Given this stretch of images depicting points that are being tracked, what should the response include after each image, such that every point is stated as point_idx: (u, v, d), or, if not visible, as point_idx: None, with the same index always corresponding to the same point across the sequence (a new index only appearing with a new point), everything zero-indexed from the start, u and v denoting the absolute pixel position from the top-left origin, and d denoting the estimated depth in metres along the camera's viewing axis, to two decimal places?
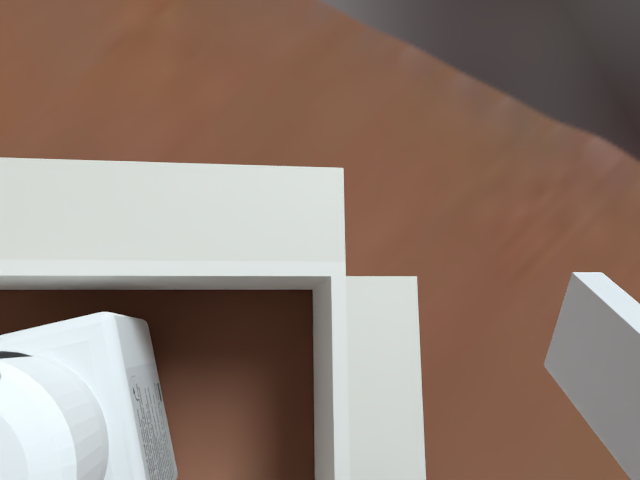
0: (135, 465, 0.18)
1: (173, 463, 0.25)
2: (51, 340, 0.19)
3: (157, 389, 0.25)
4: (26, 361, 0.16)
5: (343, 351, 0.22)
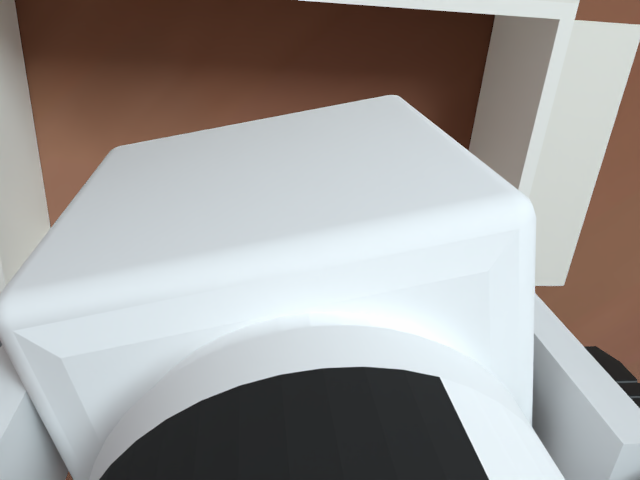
0: None
1: None
2: (402, 268, 0.07)
3: None
4: None
5: (551, 98, 0.23)
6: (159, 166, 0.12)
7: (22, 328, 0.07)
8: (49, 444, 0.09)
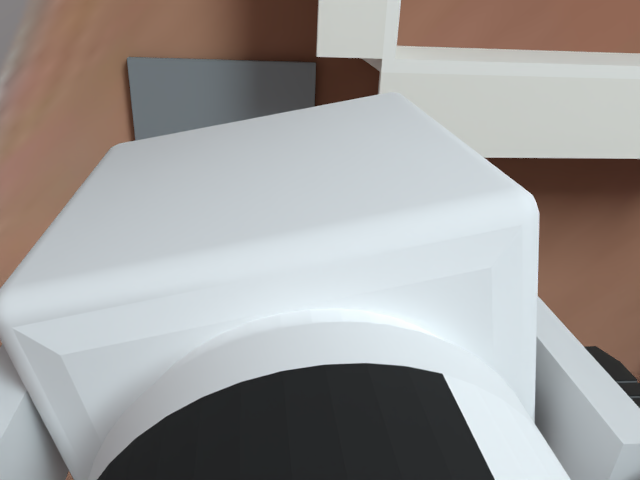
0: None
1: None
2: (405, 264, 0.07)
3: None
4: (516, 477, 0.05)
5: None
6: (159, 162, 0.11)
7: (21, 325, 0.07)
8: (49, 444, 0.09)
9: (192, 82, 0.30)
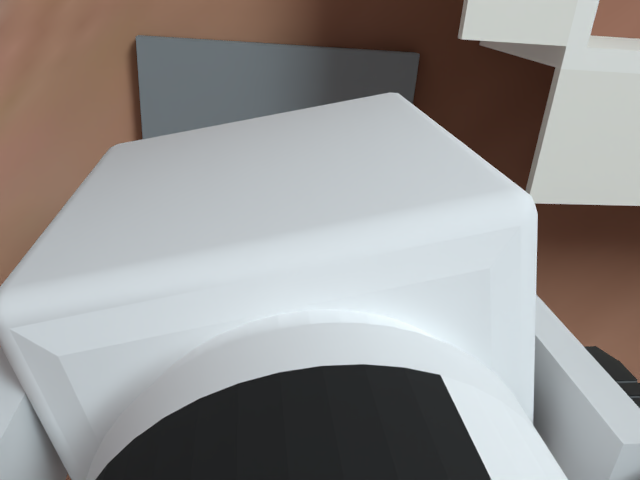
0: None
1: None
2: (403, 265, 0.07)
3: None
4: (513, 479, 0.05)
5: None
6: (157, 163, 0.11)
7: (19, 326, 0.07)
8: (49, 444, 0.09)
9: (234, 77, 0.20)
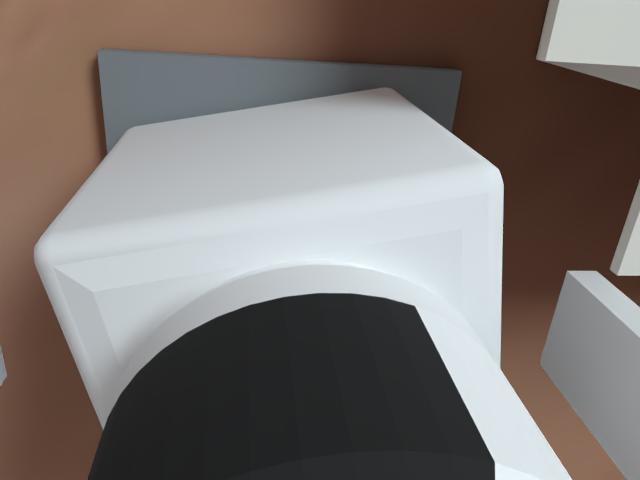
0: None
1: None
2: (388, 223, 0.09)
3: None
4: (468, 376, 0.06)
5: None
6: (173, 142, 0.13)
7: (61, 264, 0.08)
8: None
9: (225, 101, 0.15)
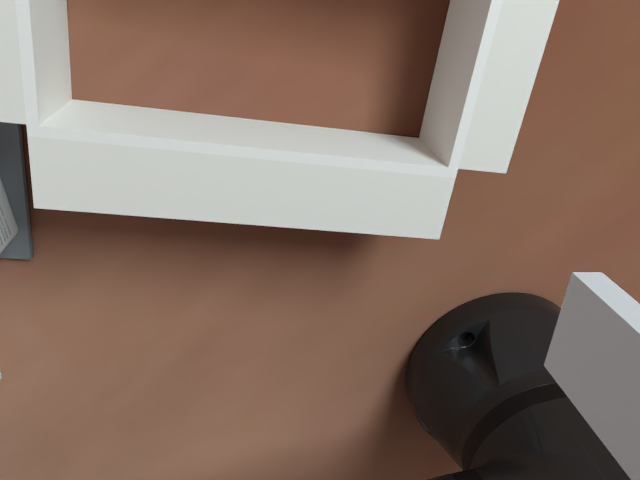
0: None
1: (11, 226, 0.34)
2: None
3: None
4: None
5: (500, 0, 0.28)
6: None
7: None
8: None
9: None
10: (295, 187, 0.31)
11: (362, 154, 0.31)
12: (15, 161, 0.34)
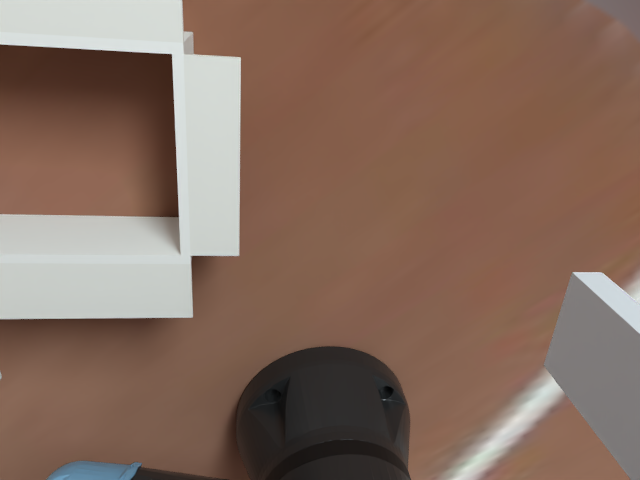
0: None
1: None
2: None
3: None
4: None
5: (183, 111, 0.30)
6: None
7: None
8: None
9: None
10: (38, 284, 0.34)
11: (100, 248, 0.34)
12: None
